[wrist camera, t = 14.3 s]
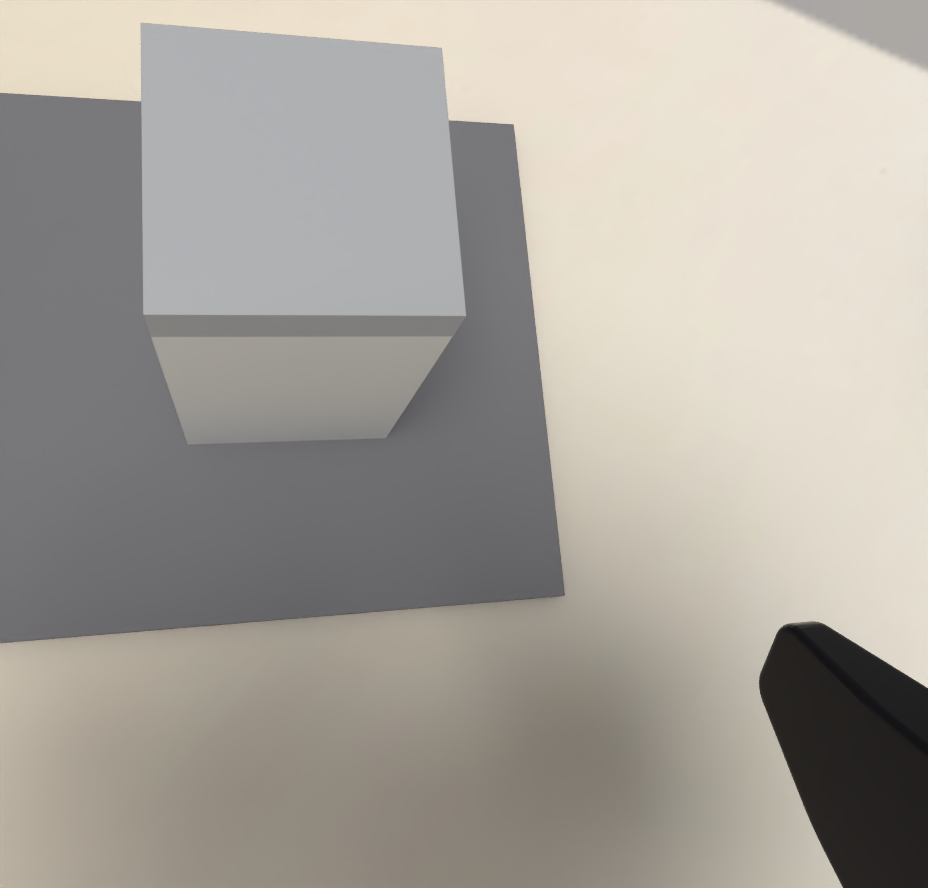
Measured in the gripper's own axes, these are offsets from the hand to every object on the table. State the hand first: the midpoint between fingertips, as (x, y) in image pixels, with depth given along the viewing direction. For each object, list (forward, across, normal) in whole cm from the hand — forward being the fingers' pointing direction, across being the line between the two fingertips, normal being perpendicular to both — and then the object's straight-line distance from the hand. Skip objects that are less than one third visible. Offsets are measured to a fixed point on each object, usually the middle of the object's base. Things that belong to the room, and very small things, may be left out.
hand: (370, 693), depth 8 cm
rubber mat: (+15, 0, +4) cm, 16 cm away
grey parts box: (+15, 0, +4) cm, 15 cm away
